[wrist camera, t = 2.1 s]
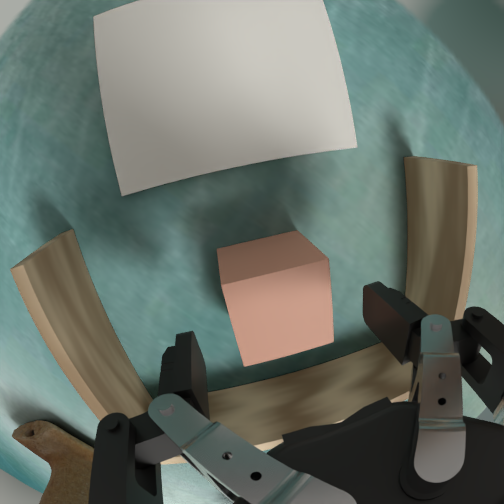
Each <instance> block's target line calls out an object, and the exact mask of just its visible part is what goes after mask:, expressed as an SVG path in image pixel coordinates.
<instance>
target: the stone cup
mask: <svg viewBox="0 0 504 504" xmlns="http://www.w3.org/2000/svg"><path fill="white" fill-rule="evenodd" d="M12 437H13V438H14V439H15V440H17V441H18V442H19V443H21V444H22V445H24V446H25V447H27V448H28V449H29V450H31V451H32V452H33V453H35V454H36V455H38V456H39V457H41V458H42V459H44V460H45V461H46V462H48V463H49V465H50V467H51V469H52V472H51V477H50V480H49V483H48V485H47V487H46V489H45V491H44V493H43V495H42V498H41V501H40V503H39V504H88V501H89V488H90V478H91V469H92V461H93V453H94V448H93V447H91V446H89V445H87V444H86V443H84V442H82V441H80V440H79V439H77V438H75V437H74V436H72V435H70V434H69V433H67V432H65V431H64V430H62V429H61V428H59V427H57V426H56V425H54V424H52V423H50V422H47V421H42V420H40V421H39V420H36V421H35V422H29V423H26V424H24V425H21V426H19V427H18V428H17V429H15V430H14V432H13V434H12Z"/></svg>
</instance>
